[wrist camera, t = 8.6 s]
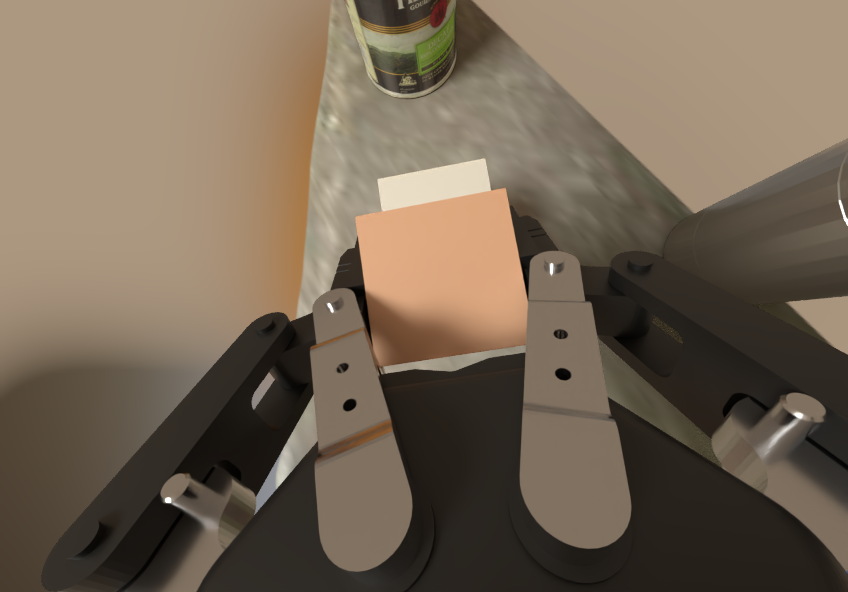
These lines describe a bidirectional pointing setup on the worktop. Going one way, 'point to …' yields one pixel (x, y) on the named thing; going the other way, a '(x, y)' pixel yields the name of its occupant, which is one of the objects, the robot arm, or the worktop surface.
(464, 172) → the cream tower block
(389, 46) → the coffee can
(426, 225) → the peach block
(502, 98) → the worktop surface
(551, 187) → the worktop surface
